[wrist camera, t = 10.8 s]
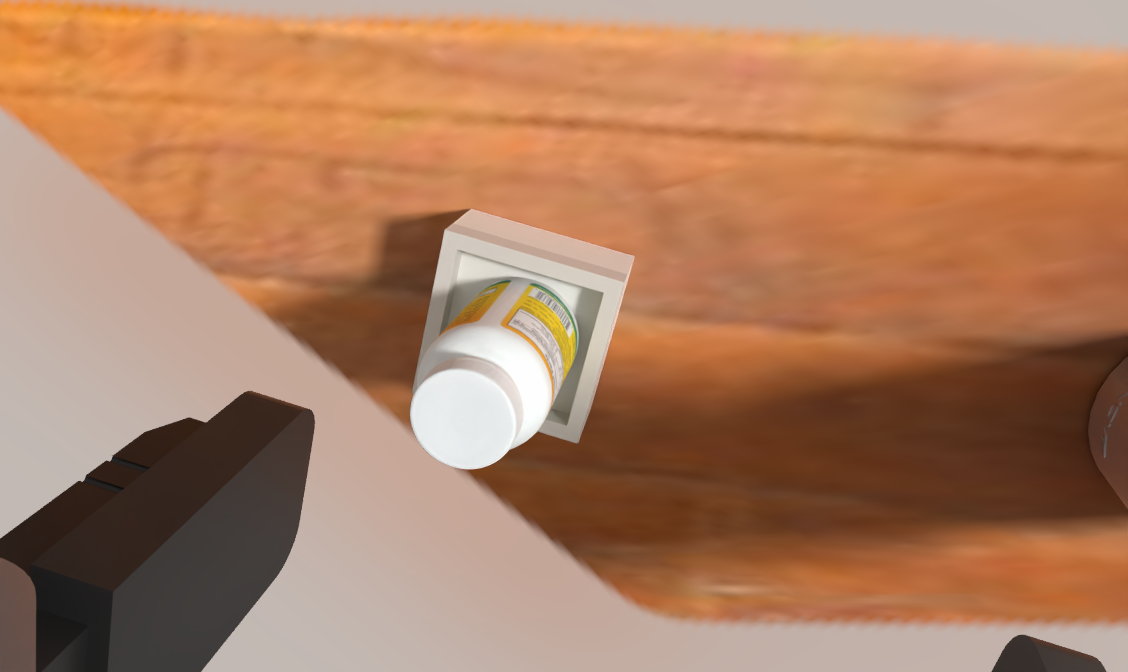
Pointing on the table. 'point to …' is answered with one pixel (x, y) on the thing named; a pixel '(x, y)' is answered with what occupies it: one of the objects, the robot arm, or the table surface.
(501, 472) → the table surface
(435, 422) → the supplement bottle
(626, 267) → the grey open box
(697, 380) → the table surface
